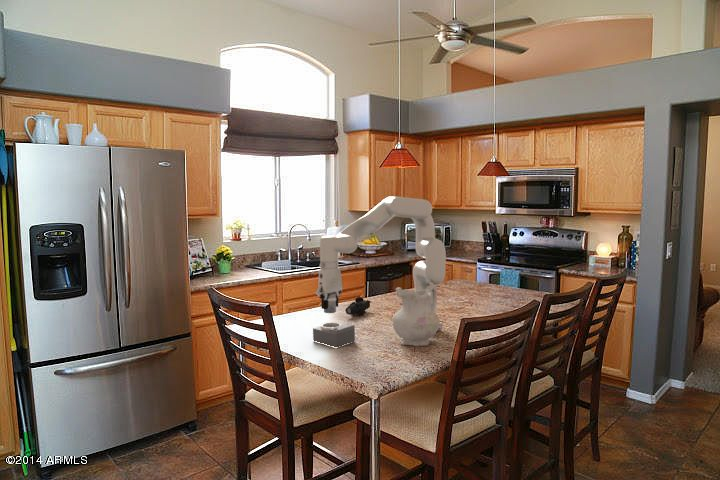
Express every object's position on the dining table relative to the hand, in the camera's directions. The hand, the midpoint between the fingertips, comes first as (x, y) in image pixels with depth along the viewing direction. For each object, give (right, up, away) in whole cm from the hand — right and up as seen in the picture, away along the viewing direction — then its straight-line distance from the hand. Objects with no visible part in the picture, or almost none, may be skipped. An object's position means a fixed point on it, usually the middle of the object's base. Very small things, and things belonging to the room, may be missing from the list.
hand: (330, 307), depth 209 cm
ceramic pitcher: (+37, -15, -1) cm, 40 cm away
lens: (0, -2, 0) cm, 2 cm away
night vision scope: (+12, -10, +45) cm, 48 cm away
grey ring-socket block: (+2, -15, +1) cm, 15 cm away
